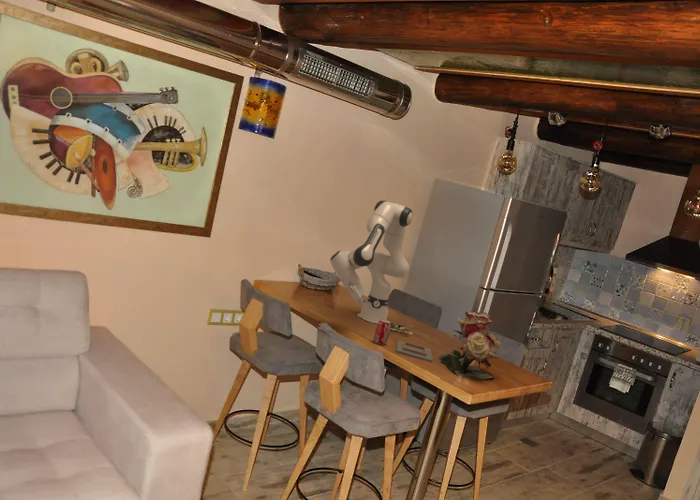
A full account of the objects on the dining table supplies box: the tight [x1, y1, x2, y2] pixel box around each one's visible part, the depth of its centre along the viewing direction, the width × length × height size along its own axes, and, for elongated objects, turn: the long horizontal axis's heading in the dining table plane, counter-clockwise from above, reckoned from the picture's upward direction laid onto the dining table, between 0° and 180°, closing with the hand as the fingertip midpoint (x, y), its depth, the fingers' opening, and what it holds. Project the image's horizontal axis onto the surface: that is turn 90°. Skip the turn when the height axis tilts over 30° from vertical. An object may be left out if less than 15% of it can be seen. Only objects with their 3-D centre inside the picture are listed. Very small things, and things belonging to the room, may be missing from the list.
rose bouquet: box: [436, 311, 502, 380], centre depth 306 cm, size 26×29×30 cm
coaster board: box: [395, 340, 433, 363], centre depth 316 cm, size 20×18×2 cm
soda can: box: [373, 319, 392, 346], centre depth 315 cm, size 7×7×12 cm
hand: (364, 304), depth 314 cm, fingers open, 8 cm apart
